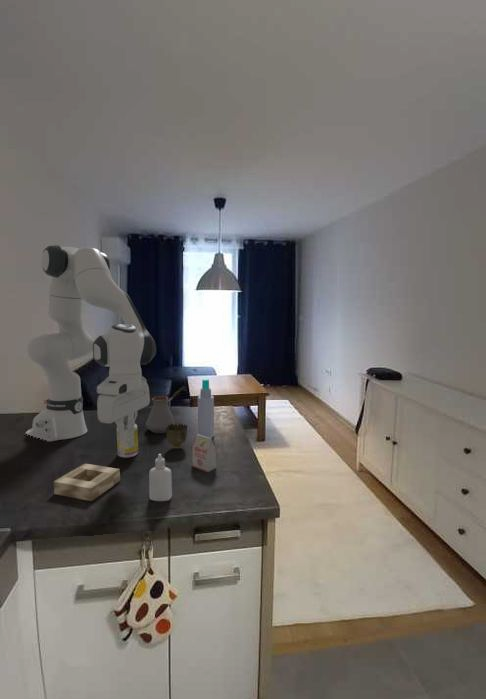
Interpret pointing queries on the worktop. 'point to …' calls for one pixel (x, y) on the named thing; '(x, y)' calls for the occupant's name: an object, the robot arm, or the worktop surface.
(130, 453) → the supplement bottle
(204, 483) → the worktop surface
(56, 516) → the worktop surface
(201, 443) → the white and red box
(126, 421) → the metal peg
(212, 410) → the spray bottle
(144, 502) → the worktop surface
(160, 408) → the coffee pot
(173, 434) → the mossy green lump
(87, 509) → the worktop surface
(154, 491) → the eye dropper bottle
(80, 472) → the tan square ring
